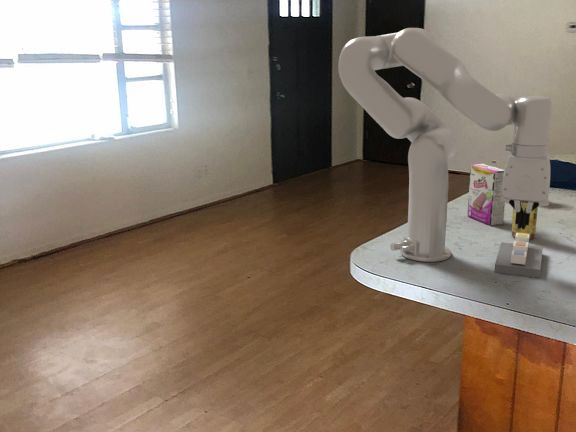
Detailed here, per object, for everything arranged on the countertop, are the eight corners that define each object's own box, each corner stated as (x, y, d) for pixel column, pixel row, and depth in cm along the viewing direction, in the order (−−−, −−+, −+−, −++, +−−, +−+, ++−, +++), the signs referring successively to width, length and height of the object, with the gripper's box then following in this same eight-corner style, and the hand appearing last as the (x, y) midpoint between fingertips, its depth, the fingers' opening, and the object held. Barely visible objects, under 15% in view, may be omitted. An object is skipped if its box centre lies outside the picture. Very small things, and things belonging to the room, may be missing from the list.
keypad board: (539, 277, 142) (540, 269, 141) (494, 272, 146) (494, 264, 145) (542, 254, 157) (542, 246, 156) (500, 249, 160) (501, 242, 160)
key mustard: (527, 251, 154) (528, 236, 152) (514, 249, 155) (515, 235, 154) (528, 247, 156) (529, 233, 155) (514, 245, 158) (516, 231, 157)
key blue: (524, 271, 144) (526, 255, 143) (510, 269, 145) (511, 254, 144) (525, 266, 147) (526, 251, 146) (511, 264, 148) (512, 249, 147)
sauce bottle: (536, 241, 166) (544, 169, 161) (512, 240, 167) (519, 168, 162) (532, 233, 172) (539, 164, 167) (509, 232, 174) (515, 163, 168)
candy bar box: (466, 216, 189) (469, 164, 185) (479, 214, 191) (483, 163, 187) (490, 226, 179) (494, 171, 175) (503, 224, 181) (508, 170, 177)
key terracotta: (525, 261, 147) (527, 246, 146) (511, 259, 148) (513, 244, 147) (526, 257, 150) (528, 242, 149) (512, 255, 151) (514, 240, 150)
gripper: (492, 151, 140) (486, 228, 146) (564, 156, 134) (554, 236, 139) (497, 146, 147) (491, 219, 152) (565, 150, 141) (556, 227, 146)
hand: (521, 227), depth 146 cm, fingers closed
